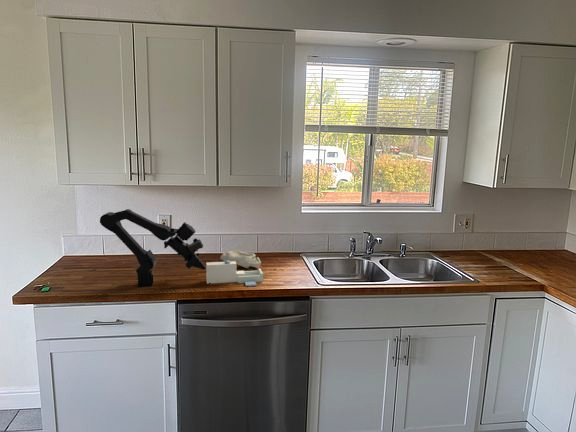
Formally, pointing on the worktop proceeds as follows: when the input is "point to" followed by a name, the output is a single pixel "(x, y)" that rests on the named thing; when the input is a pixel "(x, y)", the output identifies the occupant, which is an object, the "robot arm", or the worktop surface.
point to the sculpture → (241, 258)
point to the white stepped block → (222, 272)
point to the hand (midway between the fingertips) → (205, 268)
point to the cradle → (251, 278)
